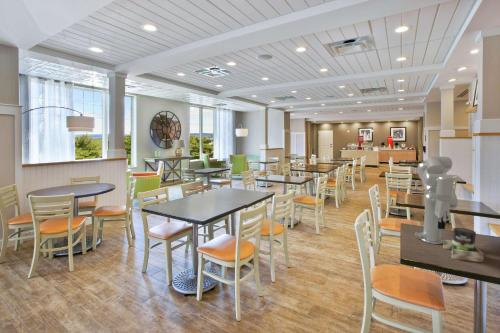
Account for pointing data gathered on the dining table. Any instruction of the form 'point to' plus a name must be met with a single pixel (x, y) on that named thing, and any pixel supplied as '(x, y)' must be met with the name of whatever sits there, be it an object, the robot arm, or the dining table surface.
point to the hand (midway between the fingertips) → (441, 228)
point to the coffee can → (463, 239)
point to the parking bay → (464, 253)
